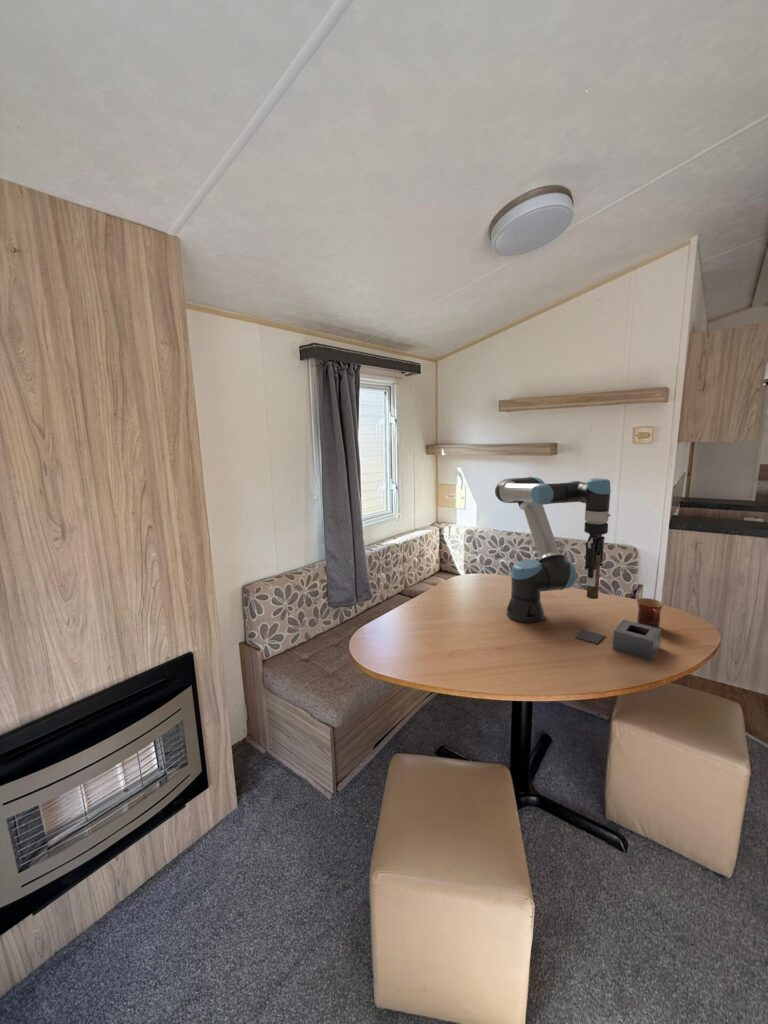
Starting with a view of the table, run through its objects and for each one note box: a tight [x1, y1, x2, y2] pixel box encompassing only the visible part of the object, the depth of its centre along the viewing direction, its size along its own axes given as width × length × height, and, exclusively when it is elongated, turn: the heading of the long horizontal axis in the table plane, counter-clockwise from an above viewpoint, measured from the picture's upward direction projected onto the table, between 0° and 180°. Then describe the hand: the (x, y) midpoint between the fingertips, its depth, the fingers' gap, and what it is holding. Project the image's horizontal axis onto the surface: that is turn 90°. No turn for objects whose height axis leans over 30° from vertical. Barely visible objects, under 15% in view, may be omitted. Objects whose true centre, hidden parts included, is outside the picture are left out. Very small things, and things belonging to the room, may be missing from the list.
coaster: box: [574, 628, 605, 646], centre depth 156 cm, size 8×8×1 cm
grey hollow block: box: [612, 619, 662, 662], centre depth 146 cm, size 12×12×7 cm
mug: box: [636, 597, 664, 629], centre depth 160 cm, size 12×9×10 cm
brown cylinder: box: [586, 554, 601, 600], centre depth 151 cm, size 4×4×16 cm
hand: (592, 583), depth 152 cm, fingers closed on brown cylinder, 4 cm apart
